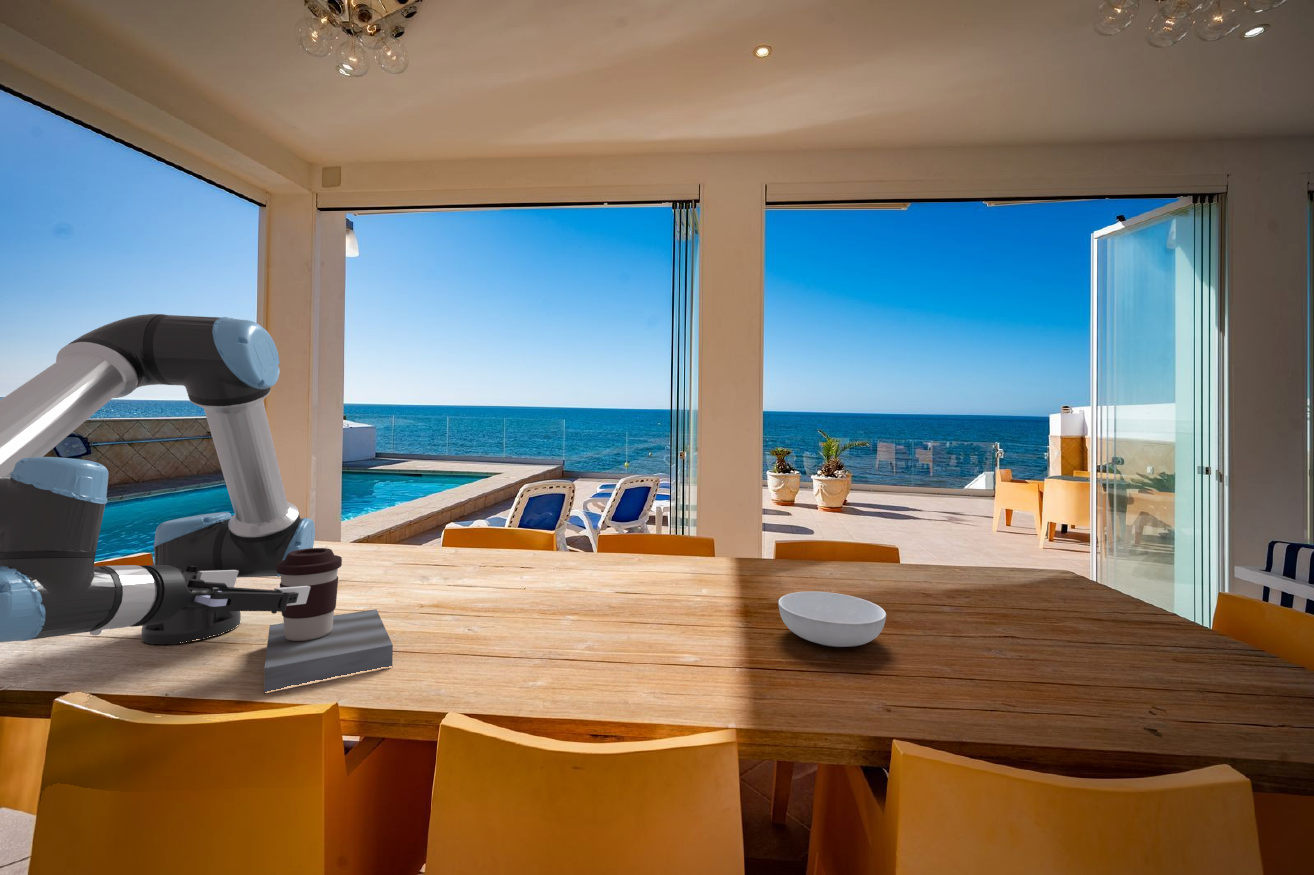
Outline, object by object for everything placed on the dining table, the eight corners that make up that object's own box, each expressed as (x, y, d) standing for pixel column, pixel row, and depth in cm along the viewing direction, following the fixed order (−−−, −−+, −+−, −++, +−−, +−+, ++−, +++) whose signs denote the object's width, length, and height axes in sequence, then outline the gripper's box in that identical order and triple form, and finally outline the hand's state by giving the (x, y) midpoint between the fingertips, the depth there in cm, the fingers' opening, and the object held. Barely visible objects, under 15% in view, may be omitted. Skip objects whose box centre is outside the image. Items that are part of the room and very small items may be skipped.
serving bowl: (896, 665, 99) (897, 627, 99) (778, 654, 103) (779, 617, 103) (874, 625, 119) (875, 594, 119) (776, 617, 123) (777, 587, 123)
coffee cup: (319, 645, 93) (320, 558, 93) (261, 644, 93) (262, 557, 93) (351, 625, 103) (353, 546, 103) (299, 624, 103) (300, 545, 103)
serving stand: (269, 646, 102) (269, 625, 102) (376, 628, 112) (376, 609, 112) (264, 694, 84) (264, 668, 84) (392, 667, 94) (392, 644, 94)
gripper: (41, 607, 70) (197, 595, 90) (207, 647, 66) (330, 625, 86) (64, 548, 71) (212, 549, 92) (227, 584, 67) (344, 577, 88)
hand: (270, 586), depth 89 cm, fingers open, 13 cm apart
